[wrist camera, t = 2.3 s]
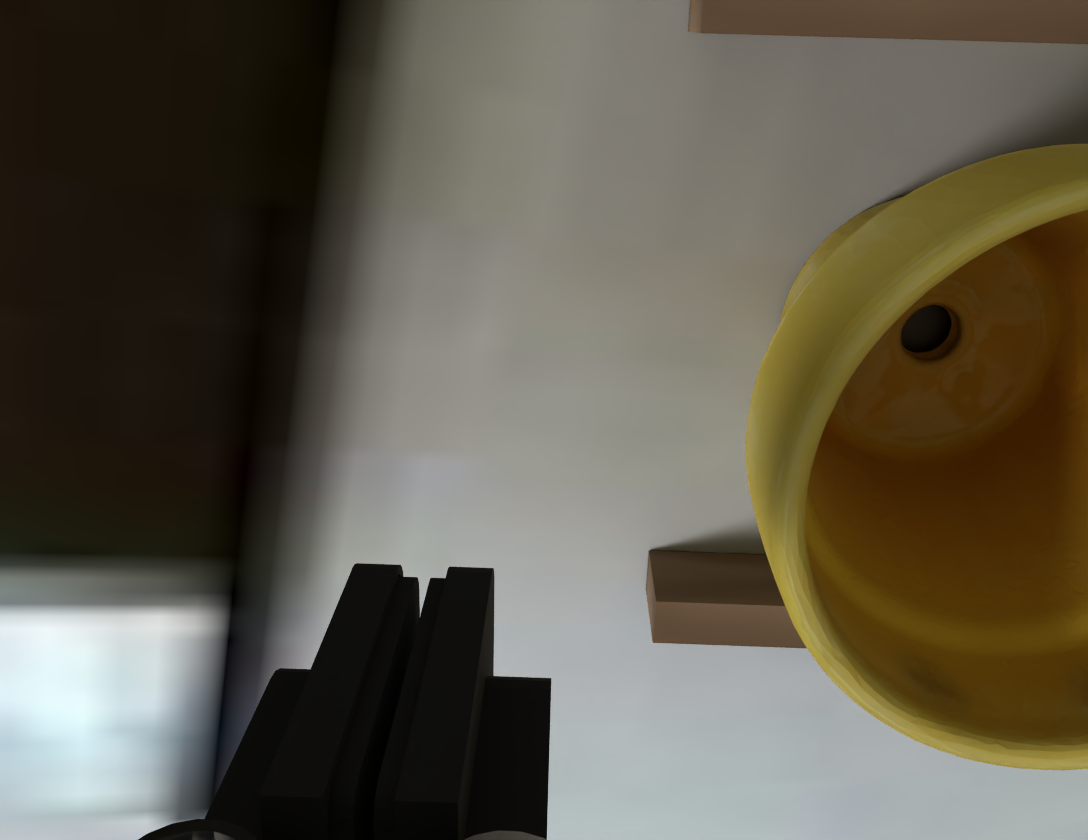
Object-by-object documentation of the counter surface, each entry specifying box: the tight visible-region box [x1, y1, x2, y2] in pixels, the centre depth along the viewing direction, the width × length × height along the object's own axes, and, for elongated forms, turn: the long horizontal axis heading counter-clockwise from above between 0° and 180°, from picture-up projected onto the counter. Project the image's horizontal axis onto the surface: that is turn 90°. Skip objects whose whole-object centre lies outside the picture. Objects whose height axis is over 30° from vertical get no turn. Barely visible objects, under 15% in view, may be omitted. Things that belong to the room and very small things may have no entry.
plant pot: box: [746, 144, 1088, 770], centre depth 20 cm, size 10×10×10 cm
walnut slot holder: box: [646, 0, 1088, 648], centre depth 23 cm, size 15×12×2 cm
